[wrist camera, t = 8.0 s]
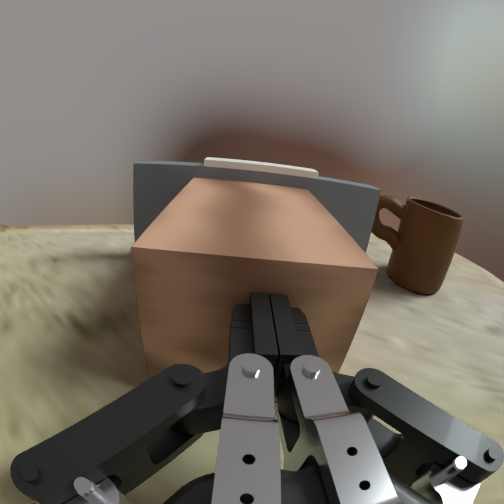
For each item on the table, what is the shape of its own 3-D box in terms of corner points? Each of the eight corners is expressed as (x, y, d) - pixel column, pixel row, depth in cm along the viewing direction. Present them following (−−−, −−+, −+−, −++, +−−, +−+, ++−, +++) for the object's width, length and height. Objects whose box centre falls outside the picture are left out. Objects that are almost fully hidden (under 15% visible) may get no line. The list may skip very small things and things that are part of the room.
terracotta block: (291, 277, 28) (307, 189, 25) (324, 401, 15) (378, 269, 11) (190, 268, 28) (194, 177, 24) (152, 391, 14) (131, 246, 10)
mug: (353, 281, 29) (375, 195, 25) (350, 254, 36) (367, 183, 32) (446, 301, 27) (475, 224, 23) (430, 272, 33) (451, 207, 29)
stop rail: (338, 253, 35) (356, 171, 31) (356, 281, 29) (382, 184, 25) (154, 236, 34) (156, 149, 29) (136, 262, 27) (133, 156, 23)
